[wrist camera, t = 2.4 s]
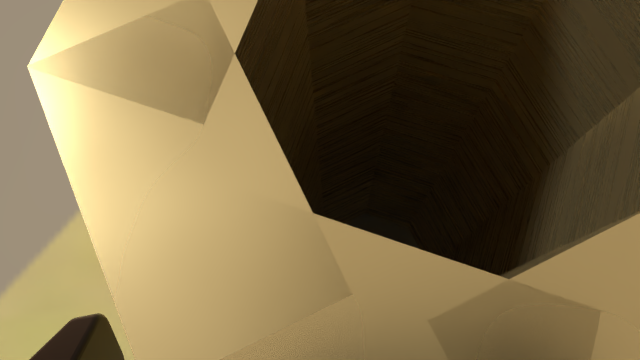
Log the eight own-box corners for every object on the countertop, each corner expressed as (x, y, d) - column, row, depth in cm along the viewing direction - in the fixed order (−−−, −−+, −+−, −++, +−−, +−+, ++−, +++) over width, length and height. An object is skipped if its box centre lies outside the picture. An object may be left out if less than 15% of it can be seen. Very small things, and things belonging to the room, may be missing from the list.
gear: (554, 335, 16) (1333, 286, 3) (307, 463, 15) (177, 989, 3) (423, 109, 18) (618, -431, 6) (199, 212, 17) (-156, -143, 5)
